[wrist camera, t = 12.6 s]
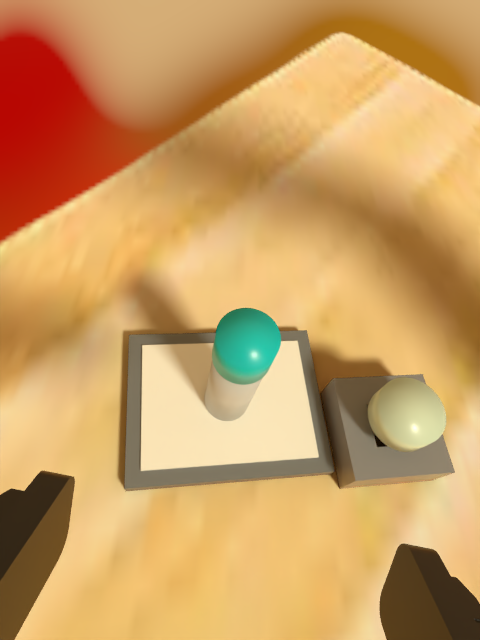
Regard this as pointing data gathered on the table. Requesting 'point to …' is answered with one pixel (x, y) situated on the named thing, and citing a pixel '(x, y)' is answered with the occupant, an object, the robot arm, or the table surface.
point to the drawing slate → (213, 434)
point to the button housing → (373, 439)
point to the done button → (406, 414)
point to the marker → (240, 361)
